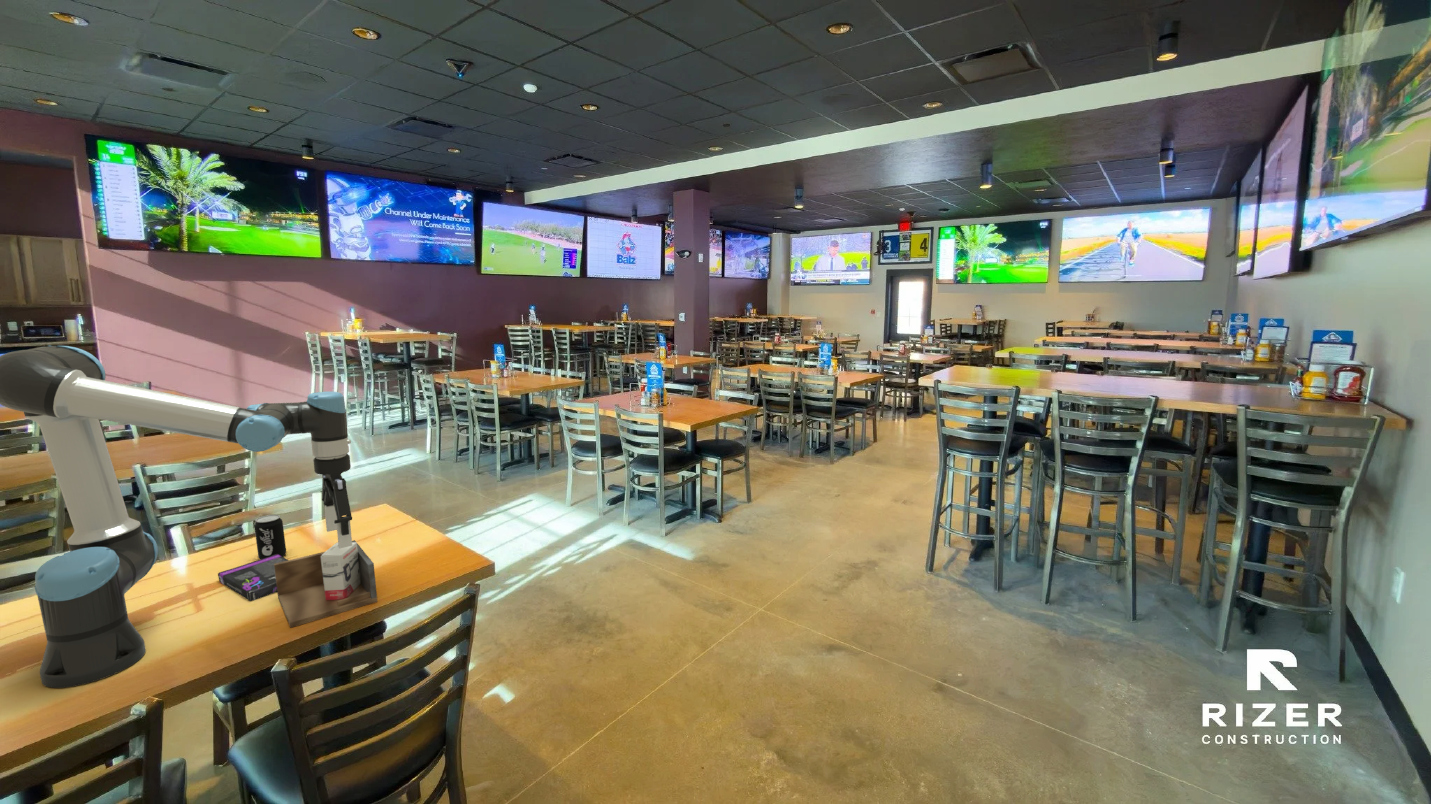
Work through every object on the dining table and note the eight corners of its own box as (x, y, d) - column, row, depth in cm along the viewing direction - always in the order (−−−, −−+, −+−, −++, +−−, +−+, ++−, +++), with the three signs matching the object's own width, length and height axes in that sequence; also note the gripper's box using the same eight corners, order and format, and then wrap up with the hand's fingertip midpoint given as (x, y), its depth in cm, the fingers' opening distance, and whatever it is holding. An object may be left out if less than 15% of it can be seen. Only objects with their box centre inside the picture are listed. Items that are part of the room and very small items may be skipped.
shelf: (290, 627, 140) (285, 586, 138) (277, 597, 153) (273, 559, 152) (377, 601, 152) (373, 563, 150) (358, 575, 165) (354, 540, 164)
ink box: (346, 599, 150) (341, 554, 148) (324, 600, 149) (319, 555, 147) (361, 583, 158) (357, 540, 156) (341, 584, 158) (336, 541, 156)
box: (219, 584, 162) (249, 604, 151) (217, 572, 161) (247, 591, 151) (278, 565, 173) (311, 581, 163) (277, 553, 173) (309, 569, 162)
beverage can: (290, 556, 177) (286, 516, 175) (264, 564, 172) (259, 524, 170) (280, 550, 181) (275, 512, 179) (254, 558, 175) (249, 519, 173)
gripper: (361, 463, 141) (369, 550, 145) (337, 443, 160) (344, 520, 163) (324, 469, 136) (332, 558, 140) (303, 447, 155) (311, 527, 158)
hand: (339, 538), depth 152 cm, fingers open, 13 cm apart
